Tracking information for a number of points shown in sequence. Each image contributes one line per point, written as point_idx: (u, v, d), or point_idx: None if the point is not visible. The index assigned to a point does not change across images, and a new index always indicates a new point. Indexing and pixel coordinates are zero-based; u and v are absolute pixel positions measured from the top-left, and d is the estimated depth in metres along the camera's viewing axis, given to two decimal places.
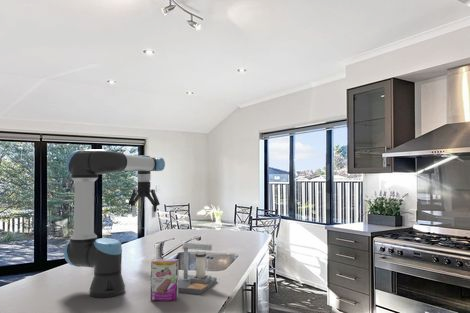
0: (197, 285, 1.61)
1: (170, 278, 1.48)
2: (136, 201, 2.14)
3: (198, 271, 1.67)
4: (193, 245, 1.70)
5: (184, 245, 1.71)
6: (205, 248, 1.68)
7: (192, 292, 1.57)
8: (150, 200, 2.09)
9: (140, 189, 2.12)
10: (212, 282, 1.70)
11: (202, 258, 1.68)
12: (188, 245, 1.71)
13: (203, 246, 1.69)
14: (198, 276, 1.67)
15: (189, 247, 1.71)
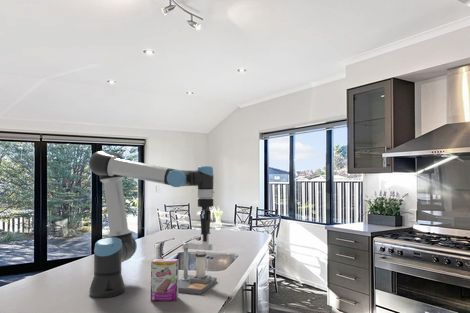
0: (197, 285, 1.61)
1: (170, 278, 1.48)
2: None
3: (198, 271, 1.67)
4: (193, 245, 1.70)
5: (184, 245, 1.71)
6: (205, 248, 1.69)
7: (192, 292, 1.57)
8: None
9: None
10: (212, 282, 1.70)
11: (202, 258, 1.68)
12: (188, 245, 1.71)
13: None
14: (198, 276, 1.67)
15: (189, 247, 1.71)
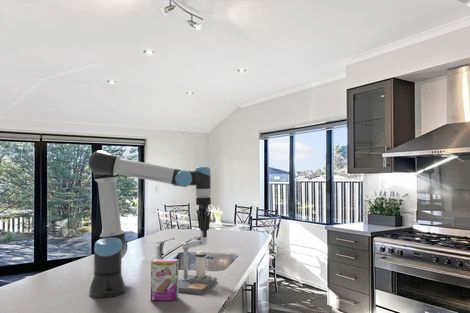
0: (197, 285, 1.61)
1: (170, 278, 1.48)
2: None
3: (198, 271, 1.67)
4: (193, 243, 1.75)
5: (188, 245, 1.71)
6: None
7: (192, 292, 1.57)
8: (202, 222, 1.79)
9: (199, 205, 1.83)
10: (212, 282, 1.70)
11: (202, 258, 1.68)
12: (189, 244, 1.73)
13: (200, 242, 1.79)
14: (198, 276, 1.67)
15: (190, 246, 1.74)
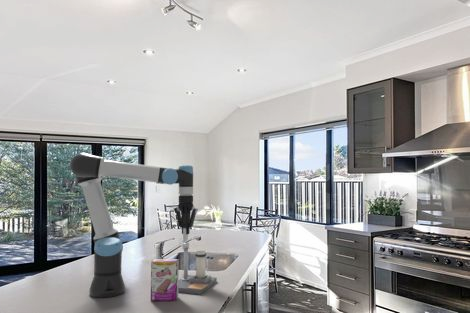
0: (197, 285, 1.61)
1: (170, 278, 1.48)
2: (185, 220, 1.85)
3: (198, 271, 1.67)
4: None
5: None
6: None
7: (192, 292, 1.57)
8: (186, 219, 1.83)
9: (180, 203, 1.84)
10: (212, 282, 1.70)
11: (202, 258, 1.68)
12: None
13: None
14: (198, 276, 1.67)
15: None
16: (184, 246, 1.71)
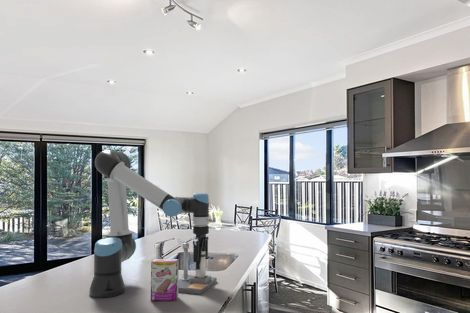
0: (197, 285, 1.61)
1: (170, 278, 1.48)
2: None
3: None
4: None
5: None
6: None
7: (192, 292, 1.57)
8: None
9: None
10: (212, 282, 1.70)
11: (202, 258, 1.68)
12: None
13: None
14: (198, 276, 1.67)
15: None
16: (184, 246, 1.71)
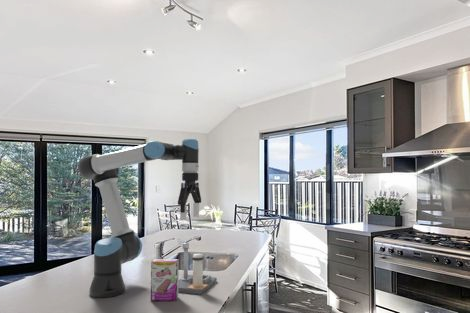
0: None
1: (170, 278, 1.48)
2: (195, 197, 1.69)
3: (195, 275, 1.59)
4: None
5: None
6: None
7: (192, 292, 1.57)
8: None
9: None
10: (212, 282, 1.70)
11: (199, 261, 1.59)
12: None
13: None
14: (195, 280, 1.59)
15: None
16: (184, 246, 1.71)
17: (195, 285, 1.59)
